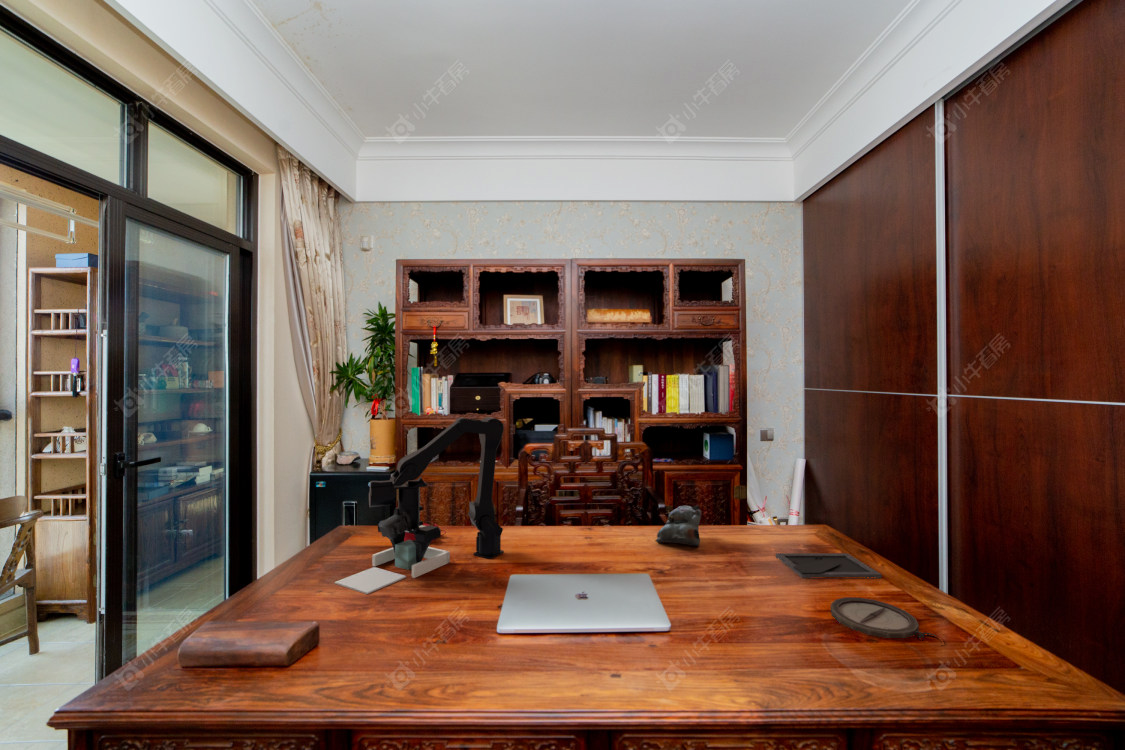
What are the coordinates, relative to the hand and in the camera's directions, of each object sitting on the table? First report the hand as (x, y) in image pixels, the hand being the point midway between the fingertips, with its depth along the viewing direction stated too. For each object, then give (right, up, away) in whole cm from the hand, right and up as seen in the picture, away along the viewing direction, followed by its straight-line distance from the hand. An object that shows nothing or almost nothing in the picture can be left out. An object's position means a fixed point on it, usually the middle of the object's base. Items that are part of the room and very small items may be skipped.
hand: (408, 560), depth 143 cm
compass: (+109, -3, -31) cm, 114 cm away
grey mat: (-6, -1, -11) cm, 13 cm away
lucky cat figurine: (+78, -2, +20) cm, 81 cm away
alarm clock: (-3, -2, +23) cm, 23 cm away
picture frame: (+115, -3, +1) cm, 115 cm away
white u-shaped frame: (0, -1, 0) cm, 1 cm away
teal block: (0, -1, 0) cm, 1 cm away
